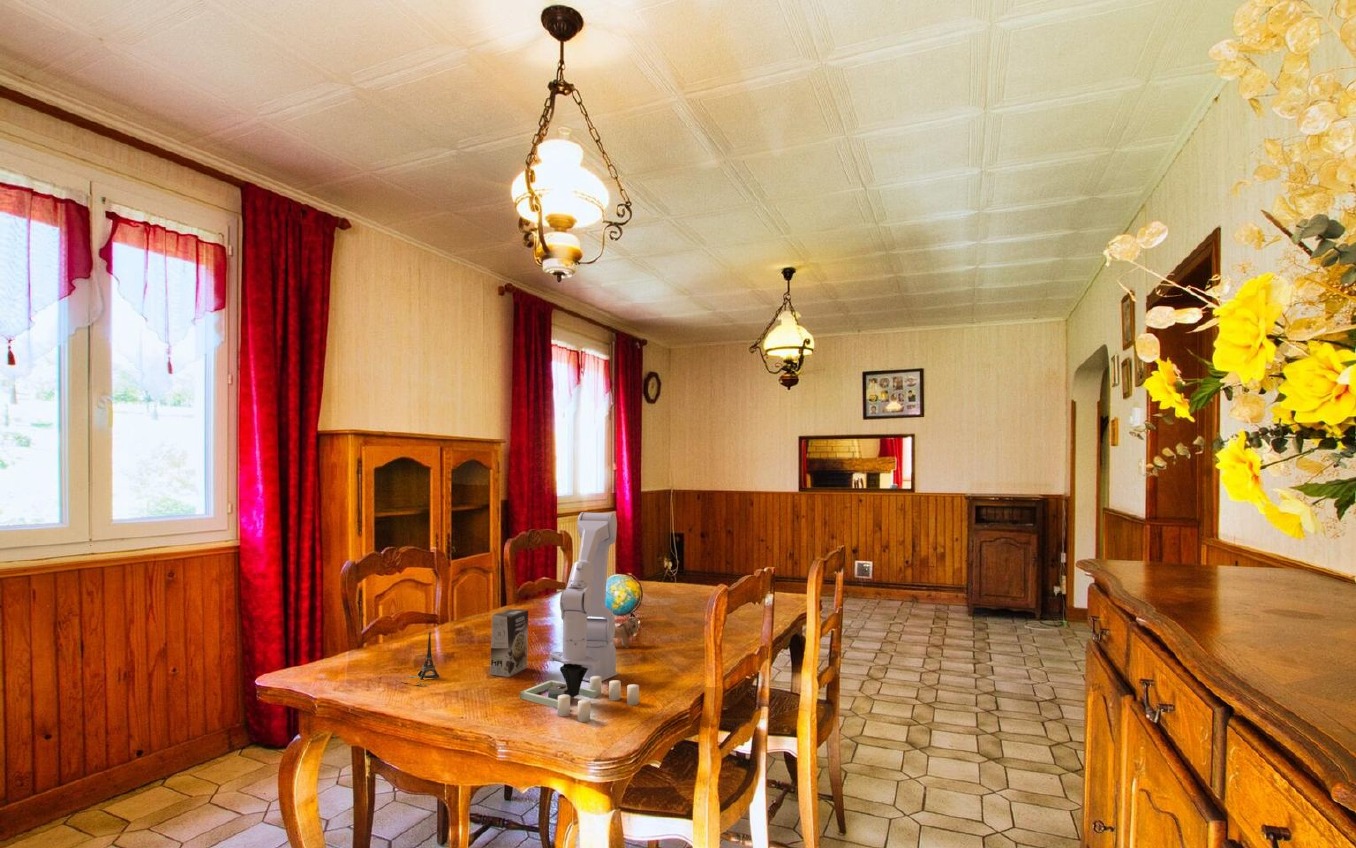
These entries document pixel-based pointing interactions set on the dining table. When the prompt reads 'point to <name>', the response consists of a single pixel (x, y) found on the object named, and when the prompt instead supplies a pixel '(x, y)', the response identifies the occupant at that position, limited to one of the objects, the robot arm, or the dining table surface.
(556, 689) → the push button box
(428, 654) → the eiffel tower figurine
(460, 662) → the dining table surface
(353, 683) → the dining table surface
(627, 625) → the lion figurine
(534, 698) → the frame
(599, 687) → the posts
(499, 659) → the coffee box
